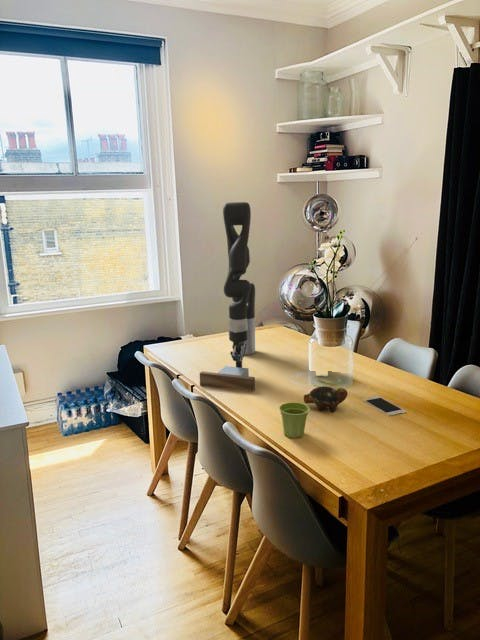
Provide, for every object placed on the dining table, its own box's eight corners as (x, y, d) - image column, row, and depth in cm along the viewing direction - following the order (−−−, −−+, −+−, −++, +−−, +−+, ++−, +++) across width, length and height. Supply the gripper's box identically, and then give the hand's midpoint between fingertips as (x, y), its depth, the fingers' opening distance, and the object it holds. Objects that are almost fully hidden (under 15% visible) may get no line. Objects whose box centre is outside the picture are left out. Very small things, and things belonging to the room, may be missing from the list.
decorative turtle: (348, 414, 175) (347, 393, 172) (303, 415, 178) (301, 393, 175) (347, 402, 184) (347, 381, 182) (304, 402, 187) (303, 382, 185)
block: (225, 376, 215) (225, 366, 214) (248, 378, 211) (248, 368, 210) (215, 385, 205) (215, 374, 204) (239, 388, 201) (238, 377, 200)
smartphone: (389, 417, 173) (389, 414, 173) (361, 401, 187) (362, 399, 187) (406, 413, 176) (406, 411, 175) (378, 398, 190) (378, 395, 189)
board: (202, 383, 207) (202, 371, 205) (254, 389, 199) (254, 377, 198) (200, 385, 204) (199, 373, 203) (252, 391, 197) (252, 379, 196)
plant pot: (310, 428, 165) (311, 403, 163) (307, 442, 156) (308, 415, 154) (281, 426, 167) (281, 401, 165) (276, 439, 158) (276, 412, 156)
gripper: (235, 323, 216) (236, 363, 221) (223, 332, 204) (224, 373, 209) (252, 325, 214) (252, 364, 218) (241, 333, 202) (242, 375, 206)
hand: (239, 369), depth 214 cm, fingers closed
